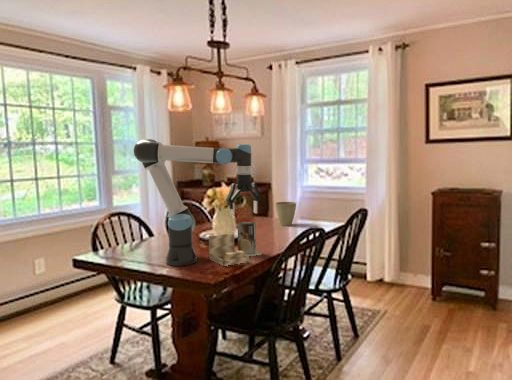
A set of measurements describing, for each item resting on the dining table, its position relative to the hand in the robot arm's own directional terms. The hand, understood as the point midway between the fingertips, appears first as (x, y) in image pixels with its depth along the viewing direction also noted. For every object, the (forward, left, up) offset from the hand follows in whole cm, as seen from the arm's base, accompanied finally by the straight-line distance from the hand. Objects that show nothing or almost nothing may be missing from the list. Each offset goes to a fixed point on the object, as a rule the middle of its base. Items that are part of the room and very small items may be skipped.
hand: (244, 214), depth 233 cm
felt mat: (0, 0, -21) cm, 21 cm away
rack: (-14, -8, -21) cm, 27 cm away
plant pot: (+63, +56, -22) cm, 87 cm away
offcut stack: (-14, -14, -21) cm, 29 cm away
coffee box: (+1, -1, -21) cm, 21 cm away
